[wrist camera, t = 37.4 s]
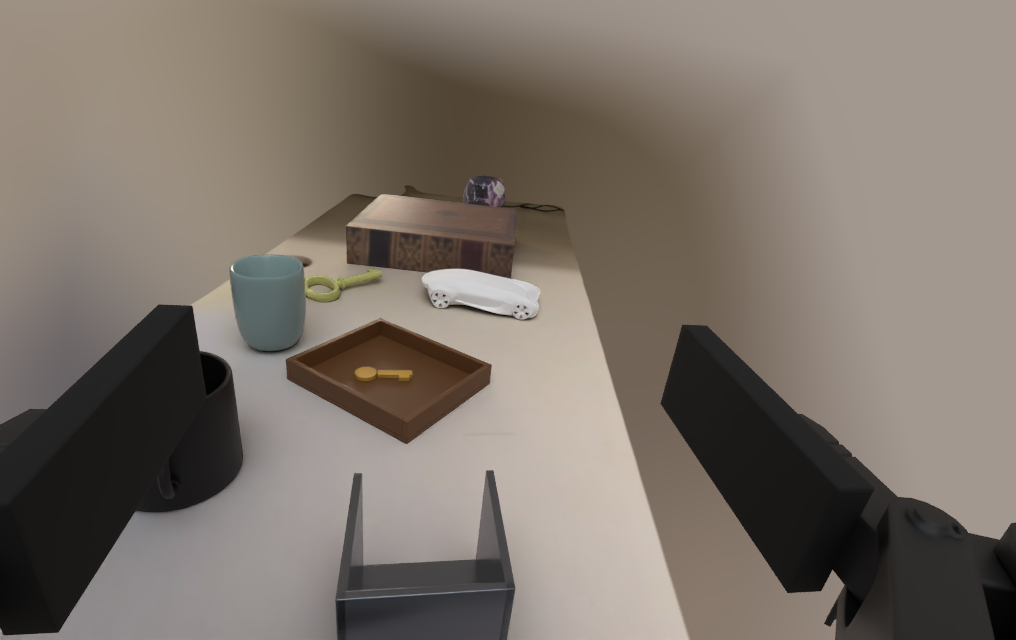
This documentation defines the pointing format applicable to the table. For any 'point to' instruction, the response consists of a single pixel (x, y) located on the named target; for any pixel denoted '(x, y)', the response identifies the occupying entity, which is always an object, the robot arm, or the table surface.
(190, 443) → the mug
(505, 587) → the grey open-sided box
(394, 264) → the book
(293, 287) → the cup
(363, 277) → the key
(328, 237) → the table surface
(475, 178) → the mineral specimen
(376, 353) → the tray
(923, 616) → the robot arm
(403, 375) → the brass key
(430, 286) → the toy car
